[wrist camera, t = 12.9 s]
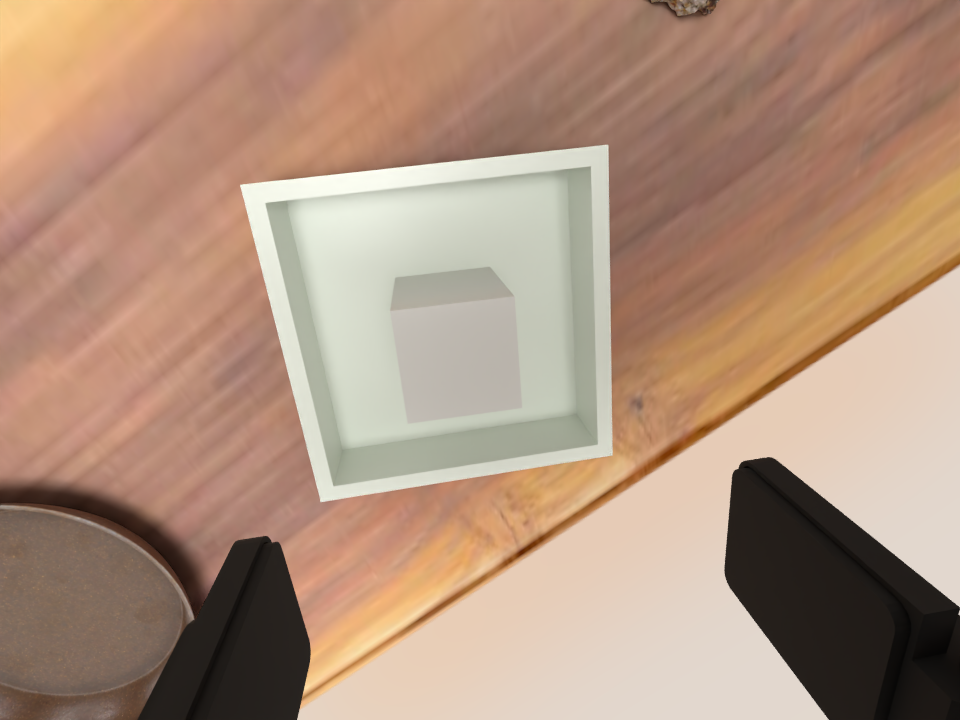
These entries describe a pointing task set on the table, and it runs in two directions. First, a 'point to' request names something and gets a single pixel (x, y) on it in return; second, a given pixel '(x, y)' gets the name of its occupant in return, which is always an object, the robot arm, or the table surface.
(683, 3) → the mineral rock
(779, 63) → the table surface
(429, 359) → the stone block
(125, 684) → the plant saucer
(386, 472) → the sage bin
